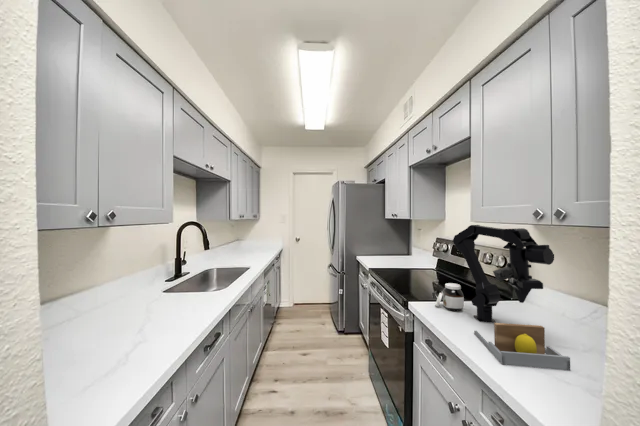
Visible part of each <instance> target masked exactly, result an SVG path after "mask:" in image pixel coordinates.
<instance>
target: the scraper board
mask: <svg viewBox="0 0 640 426" xmlns="http://www.w3.org/2000/svg"><path fill="white" fill-rule="evenodd" d="M493 326H494V327H493V328H494V335H493V336H494V337H493V338H494V345H495V346H496V347H497V348H498V349H499V350H500V351H507V352H517V351H516V349H515V340H516V337H517V336H519V335H522V334H527V335H528V336H530V337H531V338H532V339H533V340H534V341H535V343H536V347H537V353H536V354H546V353H545V348H546V339H545V338H546V337H545V336H546V335H545V331H546V330H545V329H546V328H545V327H544V326H543V325H537V324H535V325H534V324H521V323H520V324H519V323H502V322H496V323H493Z"/></svg>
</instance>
